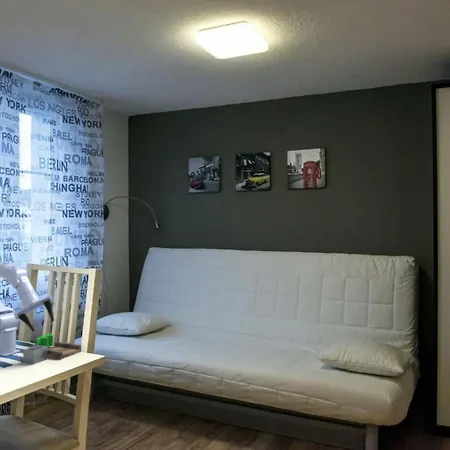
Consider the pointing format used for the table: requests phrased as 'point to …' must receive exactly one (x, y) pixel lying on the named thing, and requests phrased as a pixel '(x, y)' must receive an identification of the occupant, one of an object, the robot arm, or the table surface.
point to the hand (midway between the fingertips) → (43, 325)
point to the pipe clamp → (45, 340)
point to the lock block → (35, 354)
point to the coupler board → (62, 350)
